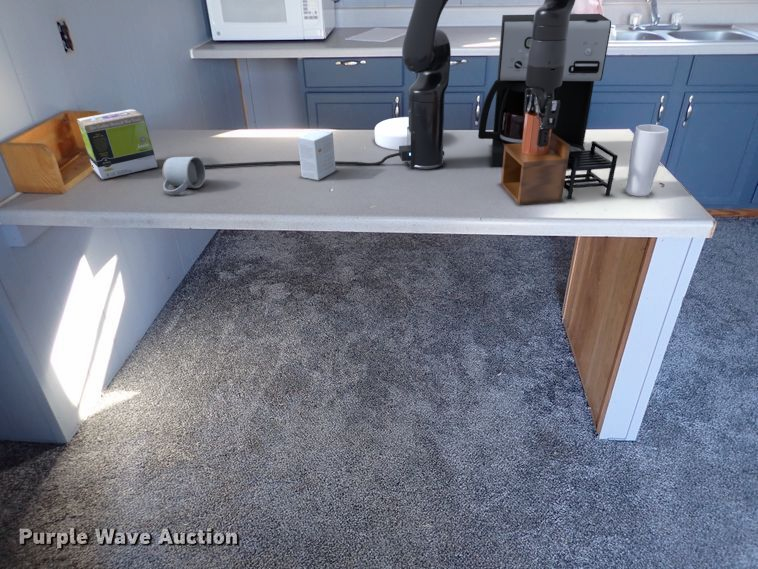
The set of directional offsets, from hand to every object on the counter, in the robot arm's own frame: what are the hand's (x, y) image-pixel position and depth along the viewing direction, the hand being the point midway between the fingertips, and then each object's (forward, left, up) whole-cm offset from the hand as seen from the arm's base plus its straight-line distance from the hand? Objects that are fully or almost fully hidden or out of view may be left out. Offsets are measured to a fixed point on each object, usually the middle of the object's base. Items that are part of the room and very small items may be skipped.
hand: (536, 141), depth 122 cm
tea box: (-102, +38, -12) cm, 110 cm away
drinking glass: (+24, -5, -12) cm, 27 cm away
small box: (-49, +23, -12) cm, 56 cm away
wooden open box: (0, 0, -12) cm, 12 cm away
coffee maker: (+9, +25, -12) cm, 29 cm away
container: (-21, +48, -12) cm, 54 cm away
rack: (+12, 0, -12) cm, 17 cm away
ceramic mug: (-83, +20, -12) cm, 86 cm away
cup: (0, 0, -2) cm, 2 cm away
